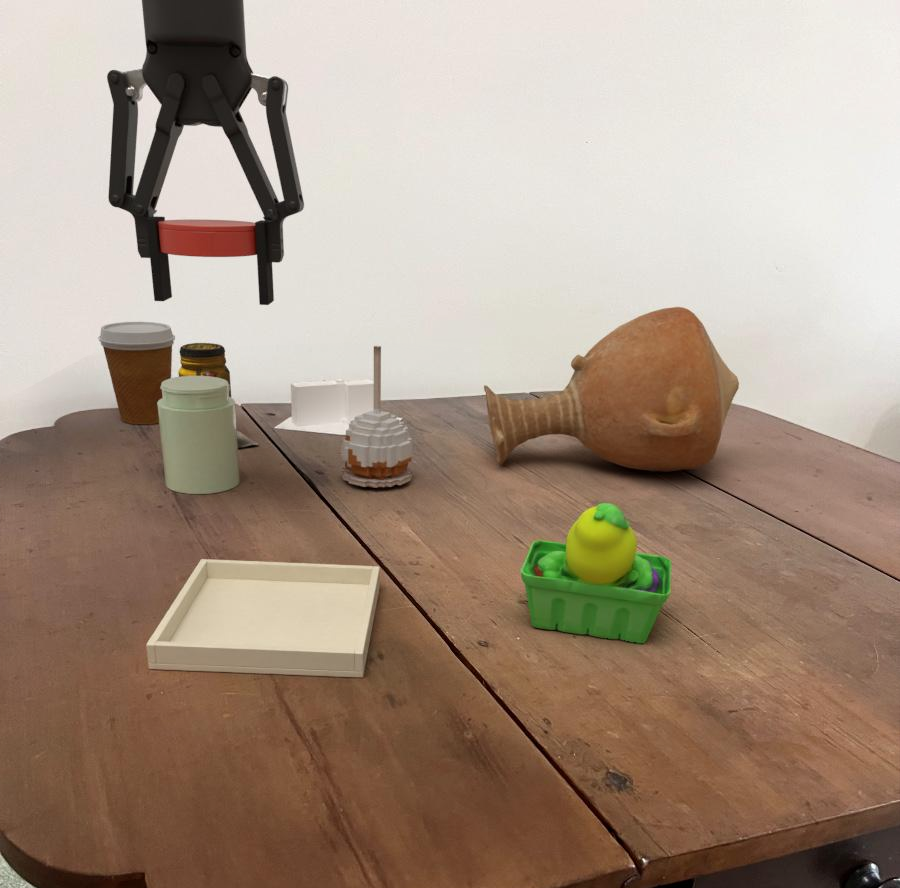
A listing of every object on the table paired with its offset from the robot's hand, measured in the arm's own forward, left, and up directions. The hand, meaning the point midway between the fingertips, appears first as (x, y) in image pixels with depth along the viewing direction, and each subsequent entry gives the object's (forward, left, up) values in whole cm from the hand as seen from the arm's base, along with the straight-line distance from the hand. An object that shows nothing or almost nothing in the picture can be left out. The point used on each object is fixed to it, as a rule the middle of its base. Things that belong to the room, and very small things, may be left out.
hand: (215, 300), depth 79 cm
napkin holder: (+6, +41, -22) cm, 47 cm away
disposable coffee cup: (-20, +40, -22) cm, 49 cm away
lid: (0, 0, +6) cm, 6 cm away
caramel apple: (+13, +18, -22) cm, 31 cm away
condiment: (-8, +29, -22) cm, 38 cm away
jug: (+40, +28, -22) cm, 53 cm away
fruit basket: (+33, -16, -22) cm, 43 cm away
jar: (-6, +15, -22) cm, 27 cm away
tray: (+8, -18, -22) cm, 29 cm away
